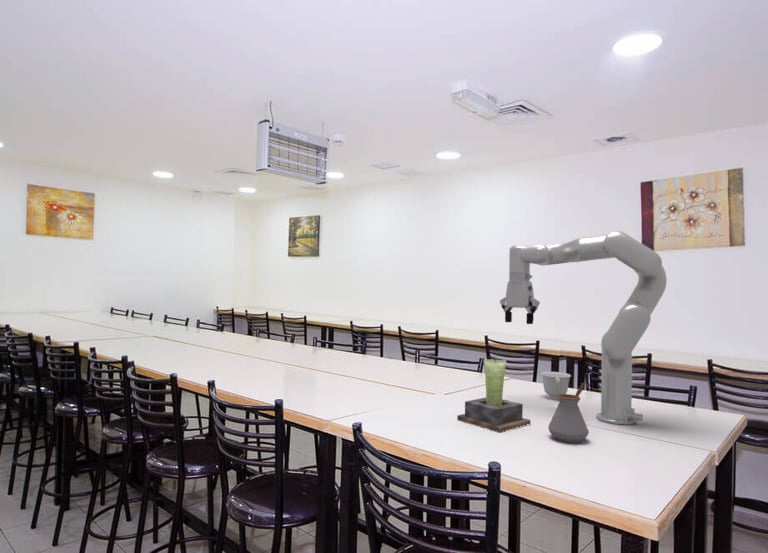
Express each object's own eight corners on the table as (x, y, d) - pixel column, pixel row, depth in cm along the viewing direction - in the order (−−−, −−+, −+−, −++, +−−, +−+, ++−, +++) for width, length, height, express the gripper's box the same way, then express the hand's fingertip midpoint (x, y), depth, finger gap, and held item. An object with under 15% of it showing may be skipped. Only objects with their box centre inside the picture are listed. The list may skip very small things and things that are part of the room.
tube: (495, 414, 168) (495, 358, 168) (506, 418, 164) (506, 360, 164) (483, 416, 165) (483, 359, 165) (493, 420, 161) (494, 361, 161)
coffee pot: (581, 447, 139) (581, 395, 140) (542, 439, 146) (542, 389, 147) (603, 431, 156) (603, 384, 156) (566, 424, 163) (567, 379, 163)
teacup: (542, 401, 196) (542, 376, 196) (539, 394, 210) (539, 370, 210) (573, 404, 193) (574, 378, 193) (568, 396, 207) (569, 372, 208)
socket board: (530, 424, 162) (530, 404, 162) (499, 432, 152) (500, 411, 152) (487, 413, 176) (488, 395, 177) (457, 419, 166) (457, 400, 167)
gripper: (545, 278, 181) (544, 324, 180) (507, 278, 194) (506, 321, 194) (533, 277, 176) (532, 324, 176) (494, 277, 190) (494, 321, 189)
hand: (518, 323), depth 185 cm, fingers open, 9 cm apart
